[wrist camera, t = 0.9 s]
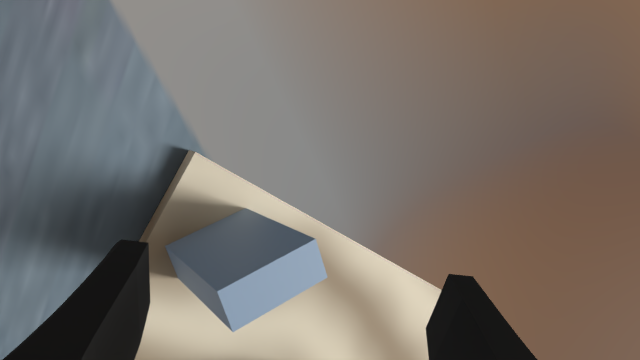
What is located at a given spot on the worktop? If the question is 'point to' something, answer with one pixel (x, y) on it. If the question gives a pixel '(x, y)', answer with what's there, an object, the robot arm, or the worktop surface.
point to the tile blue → (246, 265)
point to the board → (293, 315)
